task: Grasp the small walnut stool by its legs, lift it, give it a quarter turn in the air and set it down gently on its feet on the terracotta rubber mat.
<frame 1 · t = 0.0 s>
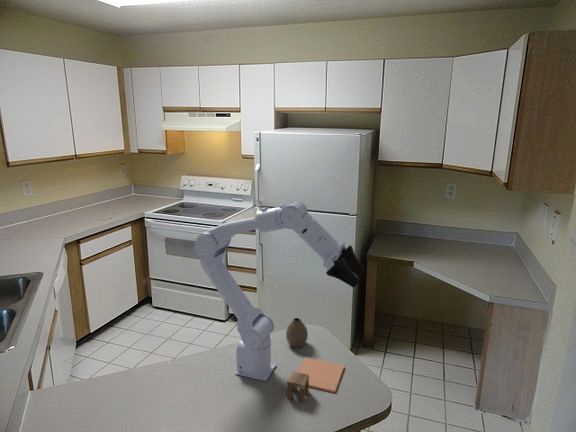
hand: (359, 278, 98), 32 cm above the table, tool tilted 50°, fingers open, 7 cm apart
stool: (298, 394, 105), on the table
mat: (319, 374, 113), on the table
vase: (296, 344, 129), on the table
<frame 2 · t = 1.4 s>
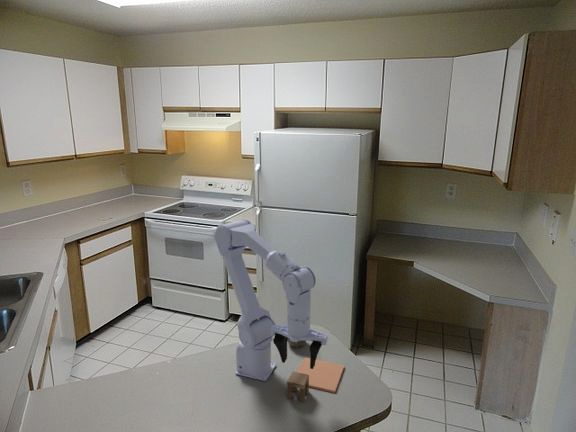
hand: (298, 363, 103), 9 cm above the table, tool pointing down, fingers open, 7 cm apart
nothing on the table moved.
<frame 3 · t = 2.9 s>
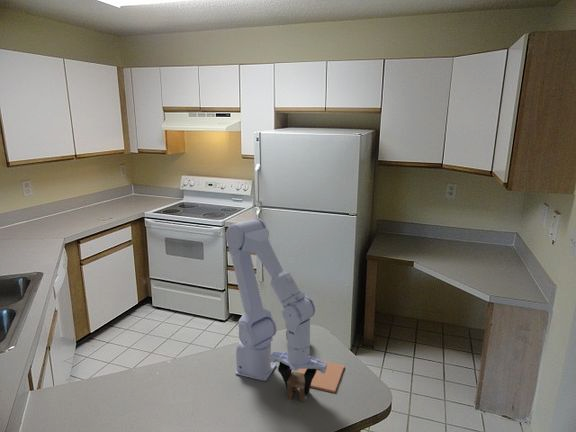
hand: (298, 390, 105), 1 cm above the table, tool pointing down, fingers closed on stool, 4 cm apart
stool: (298, 394, 105), on the table, touching gripper
everything else where it was.
when the fingers open (3 cm above the table, at t = 7.9 s): stool stays where it is, resting on mat.
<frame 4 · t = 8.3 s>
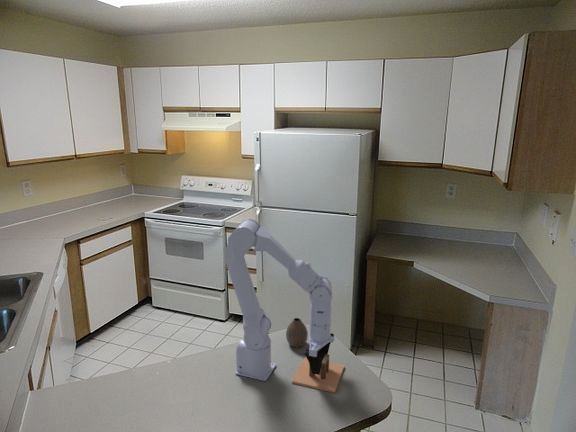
hand: (319, 365, 112), 3 cm above the table, tool pointing down, fingers open, 7 cm apart
stool: (319, 373, 113), point 1 cm above the table, touching mat
everything else where it was.
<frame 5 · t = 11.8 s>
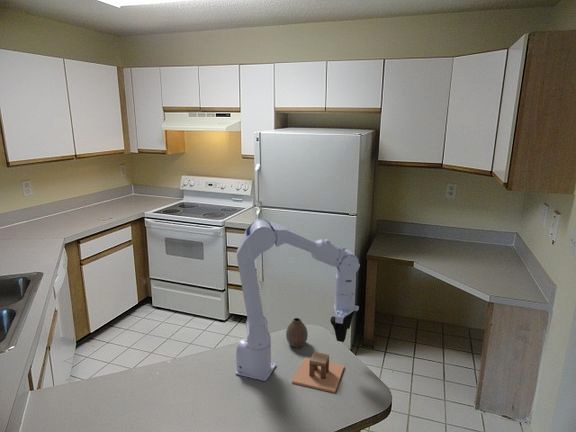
hand: (343, 334, 117), 9 cm above the table, tool pointing down, fingers open, 7 cm apart
nothing on the table moved.
at the end: stool inside the target area on the mat (0.0 cm from its centre), point 0.6 cm above the mat's base; stool tilted 0°; the gripper is holding nothing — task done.
